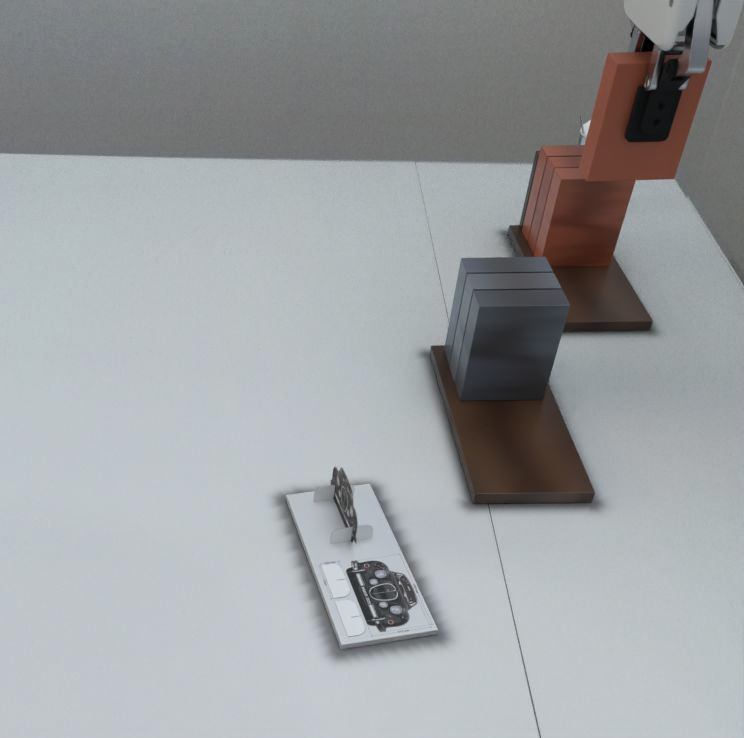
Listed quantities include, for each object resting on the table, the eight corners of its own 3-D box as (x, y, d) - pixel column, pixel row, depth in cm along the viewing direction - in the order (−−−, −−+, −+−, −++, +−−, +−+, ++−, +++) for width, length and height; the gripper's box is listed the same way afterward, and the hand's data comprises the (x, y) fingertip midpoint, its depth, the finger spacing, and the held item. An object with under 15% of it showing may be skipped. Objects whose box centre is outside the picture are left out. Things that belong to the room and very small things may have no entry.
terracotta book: (663, 166, 80) (700, 49, 74) (674, 179, 78) (712, 60, 72) (578, 169, 80) (607, 52, 74) (586, 181, 78) (617, 63, 72)
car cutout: (285, 499, 75) (288, 453, 72) (369, 487, 75) (375, 442, 72) (340, 649, 64) (346, 603, 61) (437, 634, 65) (448, 588, 62)
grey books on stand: (529, 353, 88) (555, 251, 81) (592, 502, 74) (630, 394, 67) (429, 354, 88) (447, 252, 81) (472, 503, 74) (498, 396, 67)
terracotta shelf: (591, 232, 104) (618, 138, 97) (650, 330, 91) (685, 229, 84) (507, 233, 104) (527, 140, 97) (552, 331, 91) (580, 230, 84)
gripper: (835, -126, 58) (726, 175, 71) (728, -175, 70) (651, 92, 83) (708, -122, 58) (622, 178, 71) (622, -172, 70) (562, 95, 83)
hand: (638, 130), depth 77 cm, fingers closed on terracotta book, 2 cm apart
